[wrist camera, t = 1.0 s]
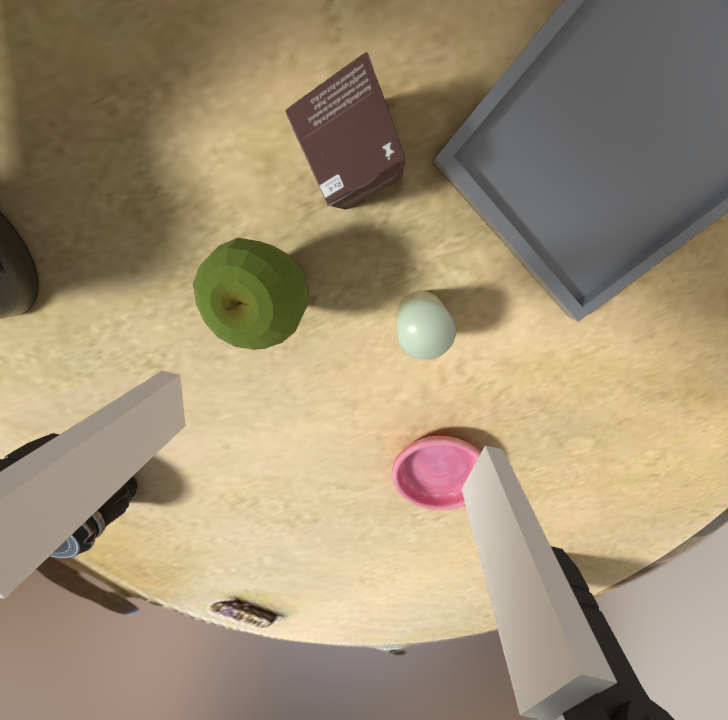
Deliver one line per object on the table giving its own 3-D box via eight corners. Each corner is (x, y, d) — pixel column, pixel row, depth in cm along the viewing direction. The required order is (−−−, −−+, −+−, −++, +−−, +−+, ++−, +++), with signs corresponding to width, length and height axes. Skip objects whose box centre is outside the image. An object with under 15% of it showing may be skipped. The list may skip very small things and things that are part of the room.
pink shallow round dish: (384, 483, 42) (384, 502, 39) (402, 417, 36) (403, 433, 33) (467, 498, 41) (472, 518, 38) (497, 434, 36) (506, 452, 33)
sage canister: (387, 315, 30) (386, 335, 25) (421, 280, 28) (428, 293, 23) (419, 344, 31) (425, 369, 26) (454, 313, 29) (468, 332, 24)
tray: (432, 162, 24) (435, 157, 22) (690, -154, 16) (723, -196, 15) (567, 316, 28) (578, 321, 27) (819, 126, 21) (855, 117, 19)
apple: (304, 332, 32) (262, 384, 22) (236, 294, 31) (157, 330, 20) (339, 264, 28) (308, 287, 18) (263, 218, 27) (183, 213, 17)
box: (376, 98, 22) (369, 46, 16) (403, 178, 25) (408, 161, 18) (312, 140, 24) (281, 108, 17) (343, 211, 26) (326, 207, 20)
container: (112, 509, 51) (52, 569, 42) (51, 461, 46) (-31, 517, 37) (158, 490, 47) (103, 552, 38) (97, 436, 43) (19, 492, 34)
